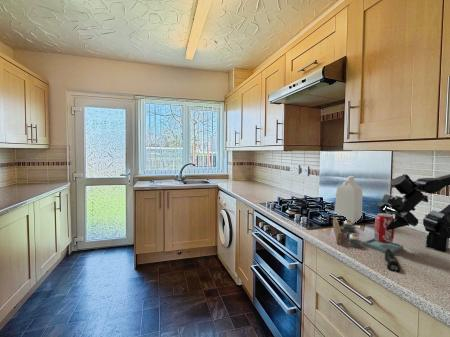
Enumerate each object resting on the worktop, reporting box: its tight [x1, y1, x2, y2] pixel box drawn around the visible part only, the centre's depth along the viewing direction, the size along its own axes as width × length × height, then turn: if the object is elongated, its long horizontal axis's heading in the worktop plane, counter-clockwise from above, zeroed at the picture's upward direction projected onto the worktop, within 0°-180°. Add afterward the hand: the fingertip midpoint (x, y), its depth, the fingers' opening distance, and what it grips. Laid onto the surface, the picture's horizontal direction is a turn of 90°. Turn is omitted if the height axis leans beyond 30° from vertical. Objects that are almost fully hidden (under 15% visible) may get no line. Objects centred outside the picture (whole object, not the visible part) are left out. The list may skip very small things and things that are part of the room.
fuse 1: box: [344, 220, 353, 225], centre depth 130 cm, size 4×4×5 cm
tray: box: [362, 237, 404, 254], centre depth 106 cm, size 11×11×2 cm
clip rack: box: [332, 216, 361, 248], centre depth 121 cm, size 10×30×5 cm, turn 160°
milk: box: [333, 175, 363, 225], centre depth 147 cm, size 12×12×26 cm
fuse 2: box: [348, 233, 360, 244], centre depth 109 cm, size 4×4×5 cm
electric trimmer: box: [384, 249, 401, 273], centre depth 92 cm, size 4×16×3 cm, turn 152°
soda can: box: [373, 212, 395, 244], centre depth 106 cm, size 7×7×12 cm
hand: (381, 226), depth 106 cm, fingers closed on soda can, 7 cm apart
